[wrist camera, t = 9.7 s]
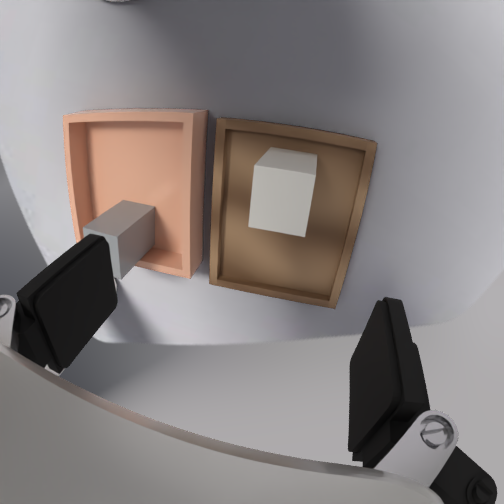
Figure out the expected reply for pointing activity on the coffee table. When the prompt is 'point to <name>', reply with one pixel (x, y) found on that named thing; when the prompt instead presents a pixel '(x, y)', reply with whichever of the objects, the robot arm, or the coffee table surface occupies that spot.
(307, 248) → the tray
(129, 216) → the grey rectangular block
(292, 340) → the coffee table surface
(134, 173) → the dish
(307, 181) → the light grey rectangular box
